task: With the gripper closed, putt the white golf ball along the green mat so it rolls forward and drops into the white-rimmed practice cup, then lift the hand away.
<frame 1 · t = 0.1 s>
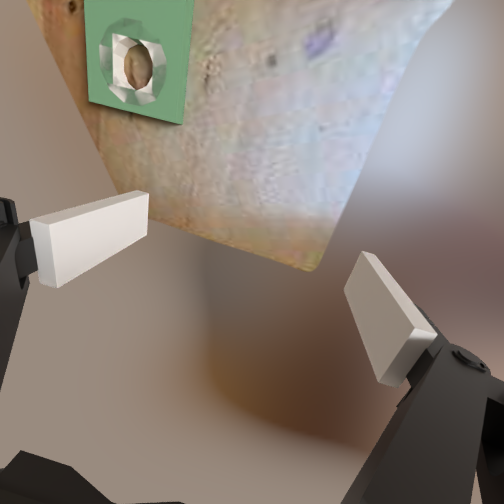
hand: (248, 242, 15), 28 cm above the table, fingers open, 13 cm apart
green: (144, 9, 34), on the table
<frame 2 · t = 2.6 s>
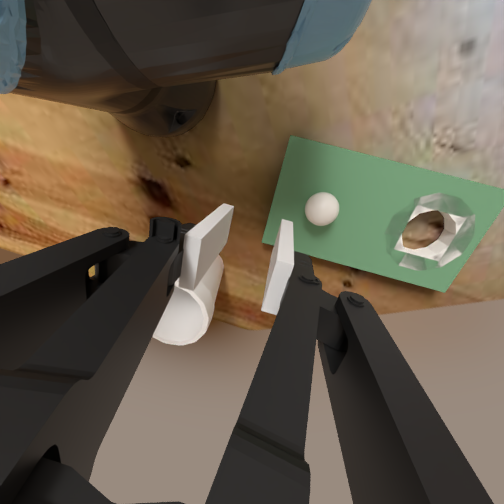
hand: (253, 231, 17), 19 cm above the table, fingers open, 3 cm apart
green: (367, 214, 33), on the table
foam cup: (205, 264, 40), on the table
ball: (321, 209, 29), point 4 cm above the table, touching green
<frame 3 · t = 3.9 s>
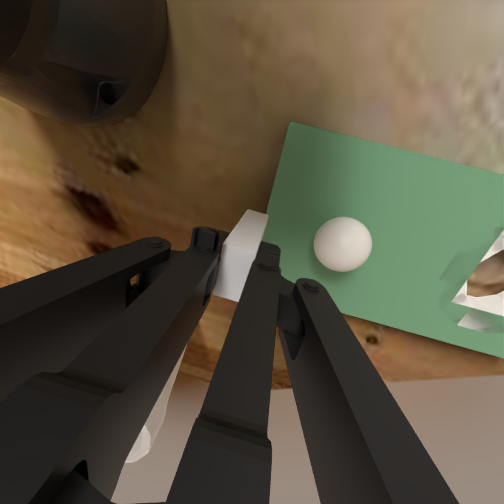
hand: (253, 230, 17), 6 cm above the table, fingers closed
green: (408, 246, 21), on the table
foam cup: (171, 307, 29), on the table
ball: (341, 244, 18), point 4 cm above the table, touching green
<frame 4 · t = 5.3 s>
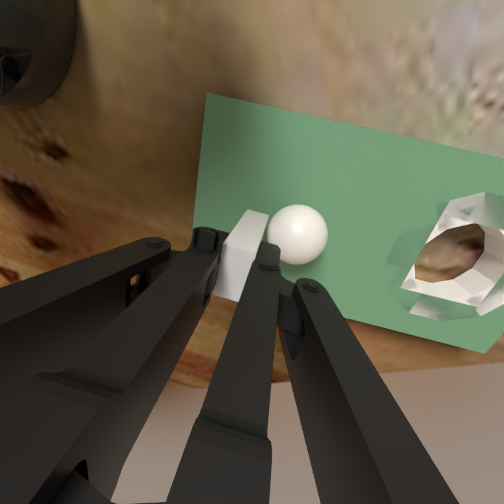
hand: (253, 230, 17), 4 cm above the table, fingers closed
green: (356, 230, 20), on the table
ball: (296, 234, 16), point 4 cm above the table, tilted 50°, touching green
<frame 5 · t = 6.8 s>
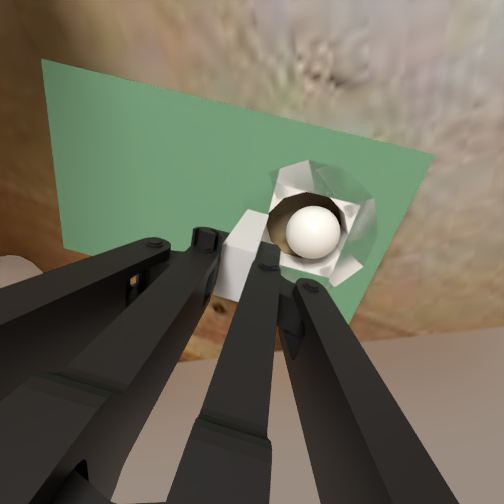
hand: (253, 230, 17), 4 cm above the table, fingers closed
green: (222, 203, 21), on the table
foam cup: (25, 279, 28), on the table
ball: (312, 232, 18), point 2 cm above the table, tilted 90°
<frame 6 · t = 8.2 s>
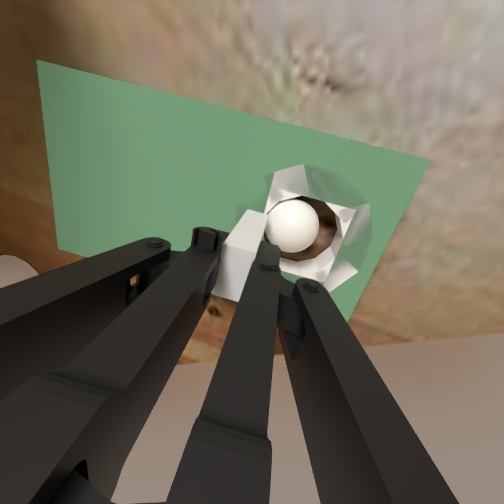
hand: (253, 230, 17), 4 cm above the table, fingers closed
green: (218, 205, 20), on the table
foam cup: (20, 279, 27), on the table
ball: (291, 225, 18), point 2 cm above the table, tilted 60°
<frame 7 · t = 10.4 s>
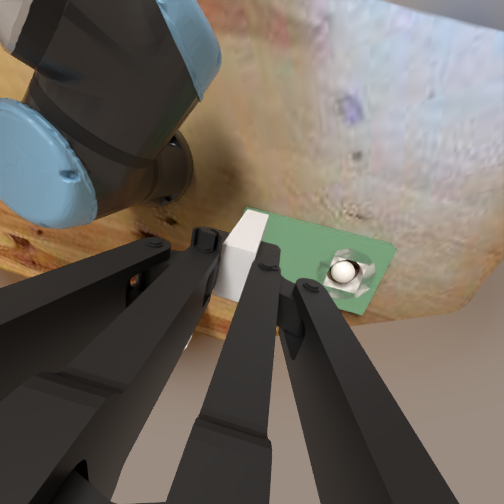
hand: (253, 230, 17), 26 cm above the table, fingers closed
green: (305, 259, 45), on the table
ball: (342, 271, 43), point 2 cm above the table, tilted 65°
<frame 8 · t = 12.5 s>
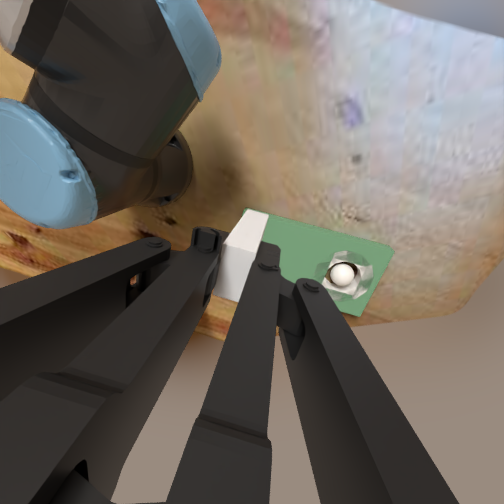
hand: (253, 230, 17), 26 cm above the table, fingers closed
green: (304, 260, 46), on the table
ball: (342, 274, 43), point 2 cm above the table, tilted 71°
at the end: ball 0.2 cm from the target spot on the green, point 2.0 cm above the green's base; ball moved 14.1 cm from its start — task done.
